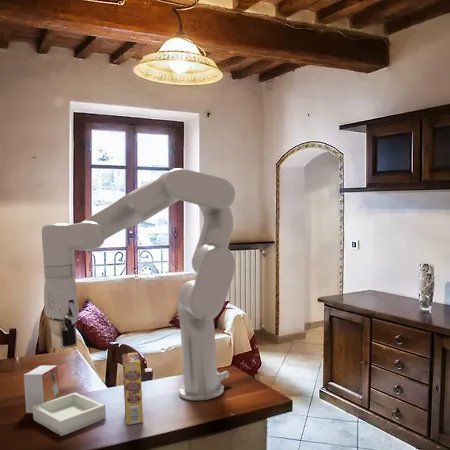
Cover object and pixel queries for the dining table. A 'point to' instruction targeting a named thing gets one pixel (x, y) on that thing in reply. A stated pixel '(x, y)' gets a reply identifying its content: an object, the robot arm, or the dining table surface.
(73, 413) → the tray
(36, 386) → the small box
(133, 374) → the candy box
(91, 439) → the dining table surface
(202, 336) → the robot arm
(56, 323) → the birch block
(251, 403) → the dining table surface
